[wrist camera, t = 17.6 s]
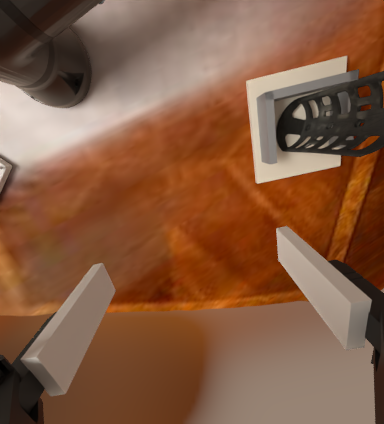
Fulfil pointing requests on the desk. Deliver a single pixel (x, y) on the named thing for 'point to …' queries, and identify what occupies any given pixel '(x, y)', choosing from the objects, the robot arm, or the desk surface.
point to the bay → (275, 105)
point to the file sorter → (4, 172)
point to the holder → (337, 120)
